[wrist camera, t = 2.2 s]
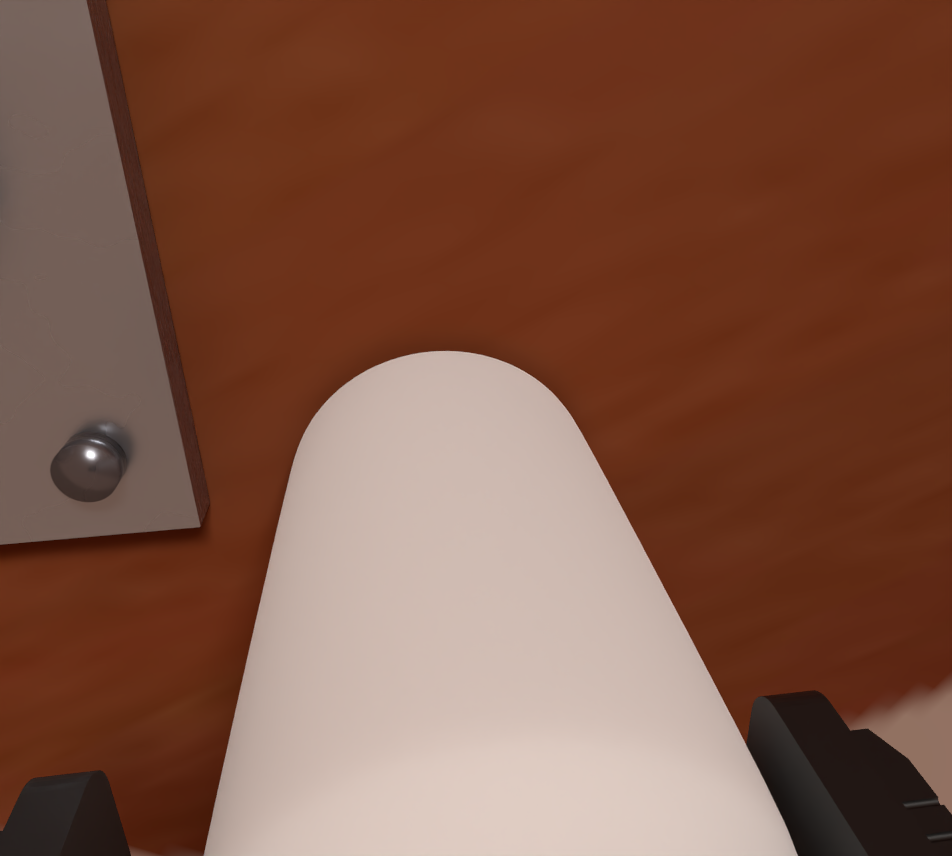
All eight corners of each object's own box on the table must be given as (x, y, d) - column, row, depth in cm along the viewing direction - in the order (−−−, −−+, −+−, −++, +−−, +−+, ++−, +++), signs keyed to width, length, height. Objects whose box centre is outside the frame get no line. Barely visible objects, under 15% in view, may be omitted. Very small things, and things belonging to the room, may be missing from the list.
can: (484, 641, 20) (607, 1354, 9) (239, 531, 18) (12, 1276, 7) (642, 432, 18) (1048, 1021, 7) (387, 284, 16) (392, 779, 5)
